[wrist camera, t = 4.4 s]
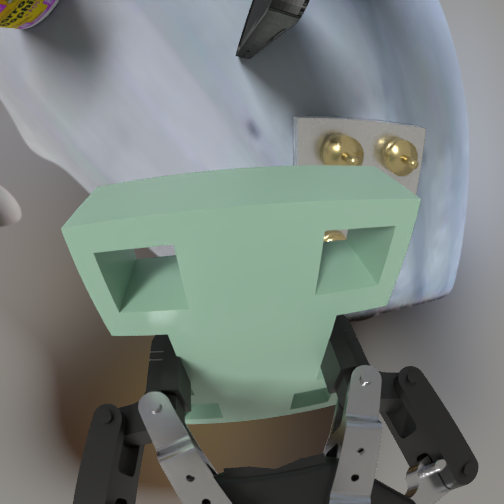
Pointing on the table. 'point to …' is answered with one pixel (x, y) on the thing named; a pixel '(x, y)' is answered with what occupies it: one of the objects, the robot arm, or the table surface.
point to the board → (244, 273)
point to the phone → (268, 23)
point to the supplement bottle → (24, 12)
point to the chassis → (359, 148)
